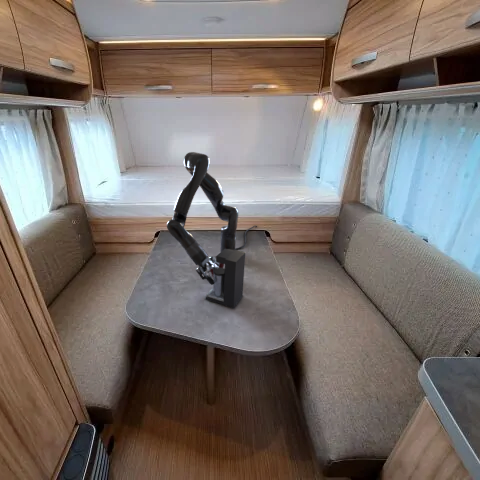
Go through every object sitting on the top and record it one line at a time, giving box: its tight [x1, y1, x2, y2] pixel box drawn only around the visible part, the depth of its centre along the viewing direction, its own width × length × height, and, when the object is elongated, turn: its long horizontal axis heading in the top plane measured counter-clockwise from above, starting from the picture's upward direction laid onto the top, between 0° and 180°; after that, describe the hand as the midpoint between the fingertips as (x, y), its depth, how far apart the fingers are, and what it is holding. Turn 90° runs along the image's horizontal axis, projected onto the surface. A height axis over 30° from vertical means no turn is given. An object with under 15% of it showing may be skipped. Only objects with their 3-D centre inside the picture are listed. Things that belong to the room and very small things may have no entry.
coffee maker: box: [205, 249, 246, 309], centre depth 124 cm, size 15×11×24 cm
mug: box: [209, 256, 225, 276], centre depth 146 cm, size 11×8×10 cm
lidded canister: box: [212, 267, 225, 298], centre depth 127 cm, size 6×6×13 cm
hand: (217, 279), depth 127 cm, fingers open, 8 cm apart
